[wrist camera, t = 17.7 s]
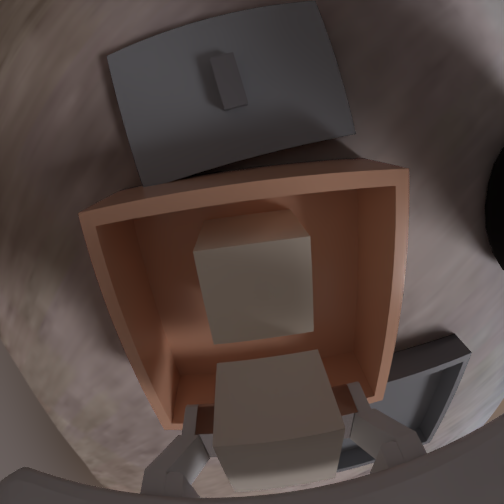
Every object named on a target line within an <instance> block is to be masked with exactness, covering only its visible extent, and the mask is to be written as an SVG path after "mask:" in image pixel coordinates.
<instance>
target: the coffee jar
mask: <svg viewBox="0 0 504 504" xmlns="http://www.w3.org/2000/svg"><path fill="white" fill-rule="evenodd" d="M485 217H486V230H487V234H488V239H489V243H490V245H491V247H492V252H493V254H494V256H495V257H496V259H497V261H498V262H499V264H500V266H501V268H502V269H503V270H504V148H503V149H502V150H501V152H500V154H499V156H498V158H497V159H496V161H495V163H494V166H493V169H492V173H491V176H490V179H489V183H488V188H487V196H486V204H485Z"/></svg>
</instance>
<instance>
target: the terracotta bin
mask: <svg viewBox="0 0 504 504" xmlns="http://www.w3.org/2000/svg"><path fill="white" fill-rule="evenodd" d="M287 209H291V211H292V212H293V213H294V215H295V216H296V218H297V219H298V220H299V222H300V223H301V224H302V226H303V227H304V228H305V230H306V231H307V232H308V234H309V235H310V240H311V260H312V284H313V323H314V331H313V332H307V333H301V334H294V335H288V336H281V337H274V338H267V339H259V340H252V341H243V342H235V343H226V344H216V345H214V343H213V339H212V335H211V331H210V327H209V323H208V318H207V314H206V310H205V305H204V301H203V297H202V292H201V287H200V283H199V278H198V274H197V269H196V264H195V259H194V254H193V250H194V247H195V244H196V242H197V239H198V236H199V233H200V231H201V228H202V225H203V222H204V220H210V219H217V218H225V217H232V216H239V215H247V214H255V213H262V212H270V211H279V210H287ZM78 215H79V219H80V223H81V227H82V231H83V234H84V238H85V242H86V245H87V249H88V252H89V255H90V259H91V262H92V265H93V268H94V271H95V275H96V278H97V281H98V284H99V286H100V289H101V292H102V295H103V298H104V301H105V303H106V306H107V309H108V311H109V314H110V317H111V319H112V322H113V324H114V327H115V329H116V332H117V334H118V336H119V339H120V341H121V344H122V346H123V348H124V350H125V353H126V355H127V357H128V359H129V362H130V364H131V366H132V368H133V370H134V372H135V374H136V377H137V379H138V381H139V383H140V385H141V387H142V389H143V391H144V393H145V395H146V397H147V399H148V400H149V402H150V404H151V406H152V408H153V410H154V412H155V414H156V415H157V417H158V419H159V421H160V423H161V424H162V426H163V428H164V430H182V428H183V421H184V414H185V408H186V406H187V405H192V404H215V386H216V369H217V363H223V362H233V361H242V360H250V359H258V358H266V357H273V356H280V355H286V354H293V353H299V352H305V351H311V350H316V349H318V351H319V354H320V357H321V360H322V362H323V365H324V368H325V371H326V374H327V376H328V379H329V382H330V385H331V387H334V386H339V385H343V384H348V383H353V382H357V381H358V382H359V383H360V385H361V387H362V390H363V392H364V394H365V396H366V398H367V401H368V403H369V404H370V403H374V402H377V401H381V400H383V397H384V393H385V389H386V385H387V381H388V376H389V372H390V367H391V363H392V358H393V353H394V348H395V343H396V337H397V331H398V325H399V319H400V312H401V305H402V298H403V290H404V281H405V271H406V260H407V246H408V228H409V169H408V168H404V167H400V166H396V165H392V164H387V163H383V162H378V161H374V160H369V159H364V158H354V159H338V160H324V161H312V162H300V163H290V164H280V165H271V166H263V167H255V168H247V169H239V170H232V171H225V172H218V173H212V174H205V175H199V176H193V177H187V178H181V179H177V180H174V181H171V182H168V183H163V184H158V185H153V186H148V187H143V186H139V187H134V188H130V189H125V190H120V191H118V192H116V193H114V194H113V195H111V196H109V197H107V198H105V199H103V200H101V201H99V202H97V203H96V204H94V205H92V206H90V207H88V208H86V209H85V210H83V211H81V212H79V213H78Z"/></svg>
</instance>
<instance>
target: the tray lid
mask: <svg viewBox="0 0 504 504" xmlns="http://www.w3.org/2000/svg"><path fill="white" fill-rule="evenodd" d="M107 60H108V64H109V68H110V73H111V77H112V81H113V85H114V89H115V93H116V97H117V101H118V105H119V108H120V112H121V116H122V119H123V123H124V126H125V130H126V133H127V137H128V140H129V144H130V147H131V150H132V154H133V157H134V160H135V163H136V166H137V170H138V173H139V176H140V179H141V182H142V185H143V187H148V186H153V185H158V184H163V183H168V182H171V181H174V180H177V179H180V178H183V177H187V176H190V175H193V174H196V173H199V172H202V171H206V170H209V169H212V168H216V167H219V166H223V165H226V164H230V163H233V162H237V161H240V160H244V159H248V158H251V157H255V156H259V155H263V154H267V153H271V152H275V151H279V150H283V149H287V148H291V147H296V146H300V145H304V144H309V143H313V142H318V141H323V140H328V139H333V138H338V137H343V136H348V135H353V134H356V132H355V128H354V124H353V119H352V115H351V111H350V107H349V103H348V100H347V96H346V92H345V88H344V85H343V81H342V78H341V74H340V71H339V68H338V64H337V61H336V58H335V55H334V52H333V48H332V45H331V42H330V39H329V37H328V34H327V31H326V28H325V25H324V22H323V20H322V17H321V14H320V12H319V9H318V7H317V4H316V1H304V2H294V3H285V4H278V5H271V6H265V7H259V8H253V9H248V10H243V11H238V12H233V13H229V14H224V15H220V16H216V17H212V18H209V19H205V20H201V21H198V22H194V23H191V24H188V25H184V26H181V27H178V28H175V29H172V30H169V31H166V32H163V33H161V34H158V35H155V36H153V37H150V38H147V39H145V40H142V41H140V42H137V43H135V44H133V45H130V46H128V47H126V48H123V49H121V50H119V51H117V52H114V53H112V54H110V55H108V56H107Z"/></svg>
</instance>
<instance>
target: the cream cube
mask: <svg viewBox="0 0 504 504" xmlns="http://www.w3.org/2000/svg"><path fill="white" fill-rule="evenodd" d="M193 254H194V259H195V264H196V269H197V274H198V278H199V283H200V287H201V292H202V297H203V301H204V305H205V310H206V314H207V318H208V323H209V327H210V331H211V335H212V339H213V343H214V345H216V344H226V343H235V342H243V341H252V340H259V339H267V338H274V337H281V336H288V335H294V334H301V333H307V332H313V331H314V323H313V284H312V260H311V240H310V235H309V234H308V232H307V231H306V230H305V228H304V227H303V226H302V224H301V223H300V222H299V220H298V219H297V218H296V216H295V215H294V213H293V212H292V211H291V209H287V210H279V211H270V212H262V213H255V214H247V215H239V216H232V217H225V218H217V219H210V220H204V222H203V225H202V228H201V231H200V233H199V236H198V239H197V242H196V244H195V247H194V250H193Z"/></svg>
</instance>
